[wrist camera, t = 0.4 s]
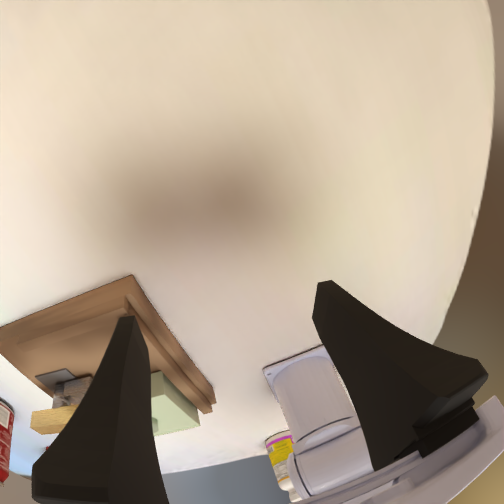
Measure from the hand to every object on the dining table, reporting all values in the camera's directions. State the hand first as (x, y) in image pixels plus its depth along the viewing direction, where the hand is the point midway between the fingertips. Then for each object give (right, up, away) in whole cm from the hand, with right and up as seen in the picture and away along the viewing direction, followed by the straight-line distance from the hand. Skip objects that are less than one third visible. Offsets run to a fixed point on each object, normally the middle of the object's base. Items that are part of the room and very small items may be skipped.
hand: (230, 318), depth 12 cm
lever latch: (-17, -10, +11) cm, 23 cm away
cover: (-10, -12, +15) cm, 22 cm away
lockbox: (-13, -9, +15) cm, 22 cm away
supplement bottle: (+6, -30, +36) cm, 47 cm away
